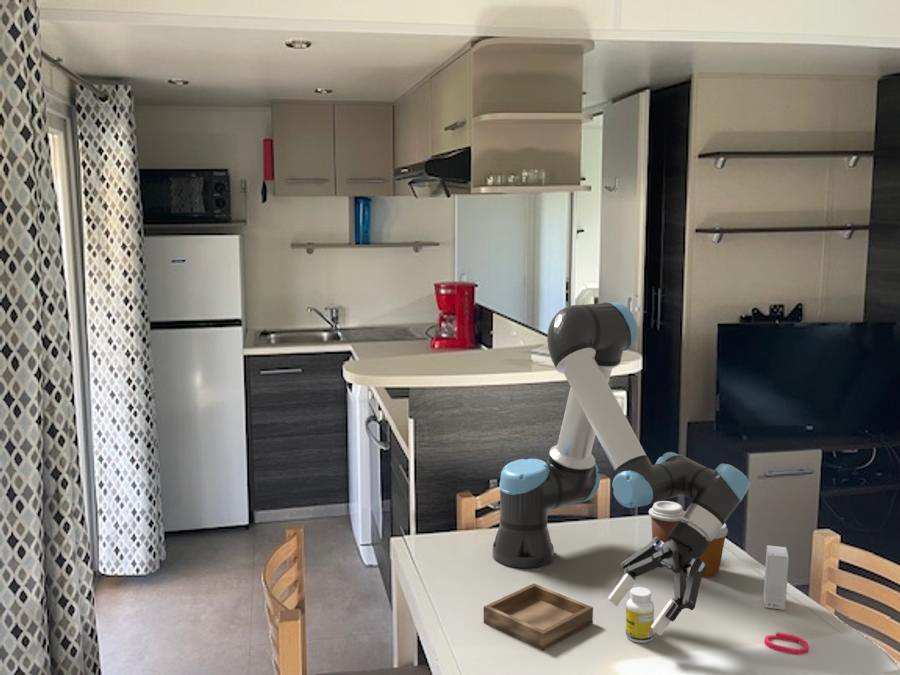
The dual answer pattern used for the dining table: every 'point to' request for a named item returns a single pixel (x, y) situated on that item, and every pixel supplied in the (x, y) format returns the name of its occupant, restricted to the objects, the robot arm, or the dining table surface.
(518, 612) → the walnut tray
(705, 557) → the disposable coffee cup
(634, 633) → the supplement bottle
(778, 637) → the fitness band
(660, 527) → the coffee cup
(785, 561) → the skincare box
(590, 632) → the dining table surface
